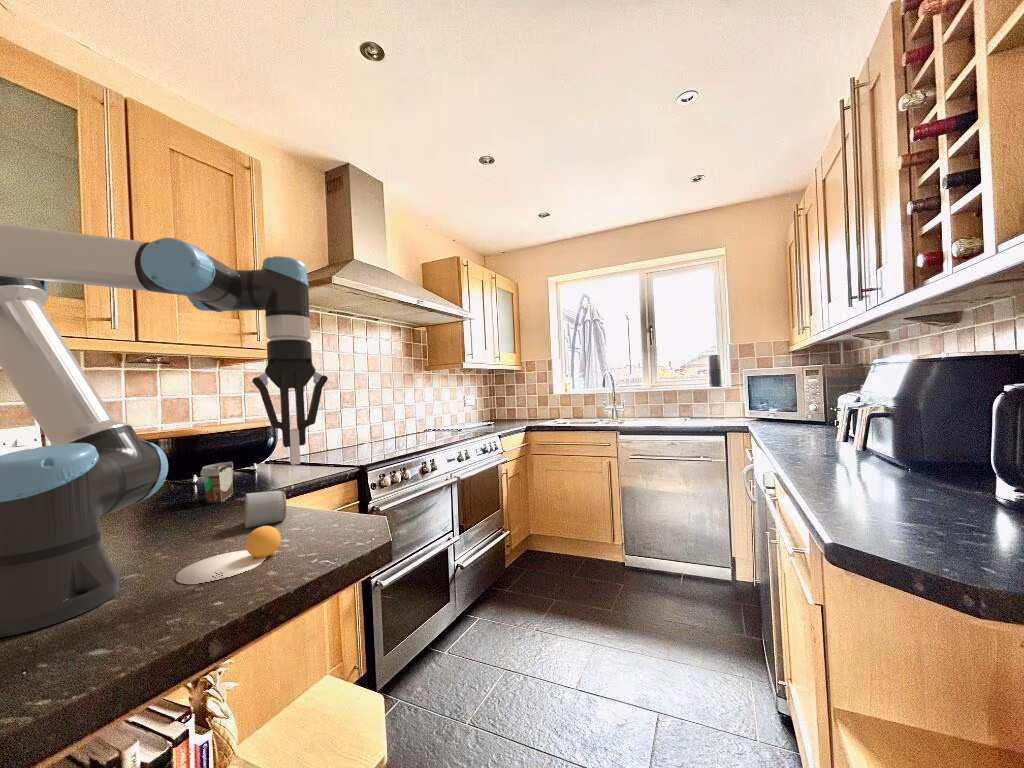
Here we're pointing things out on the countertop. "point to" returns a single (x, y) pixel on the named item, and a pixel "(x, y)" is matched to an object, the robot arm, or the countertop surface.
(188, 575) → the cream disc
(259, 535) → the ball
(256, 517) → the ceramic mug
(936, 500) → the countertop surface
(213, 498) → the food container
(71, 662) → the countertop surface
